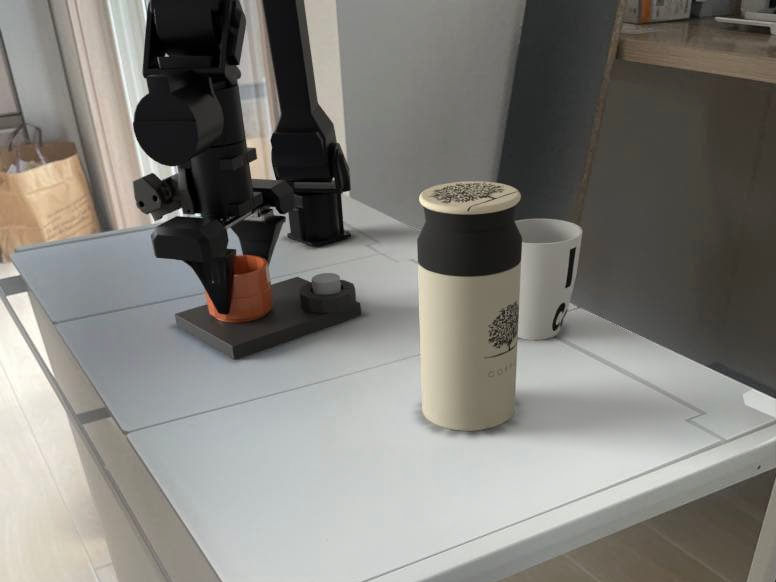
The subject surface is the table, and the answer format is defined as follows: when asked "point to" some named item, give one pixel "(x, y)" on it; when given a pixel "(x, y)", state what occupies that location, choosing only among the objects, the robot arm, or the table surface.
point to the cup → (546, 275)
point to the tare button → (326, 284)
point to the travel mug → (469, 303)
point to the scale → (274, 318)
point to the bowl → (247, 291)
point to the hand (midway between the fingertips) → (241, 301)
